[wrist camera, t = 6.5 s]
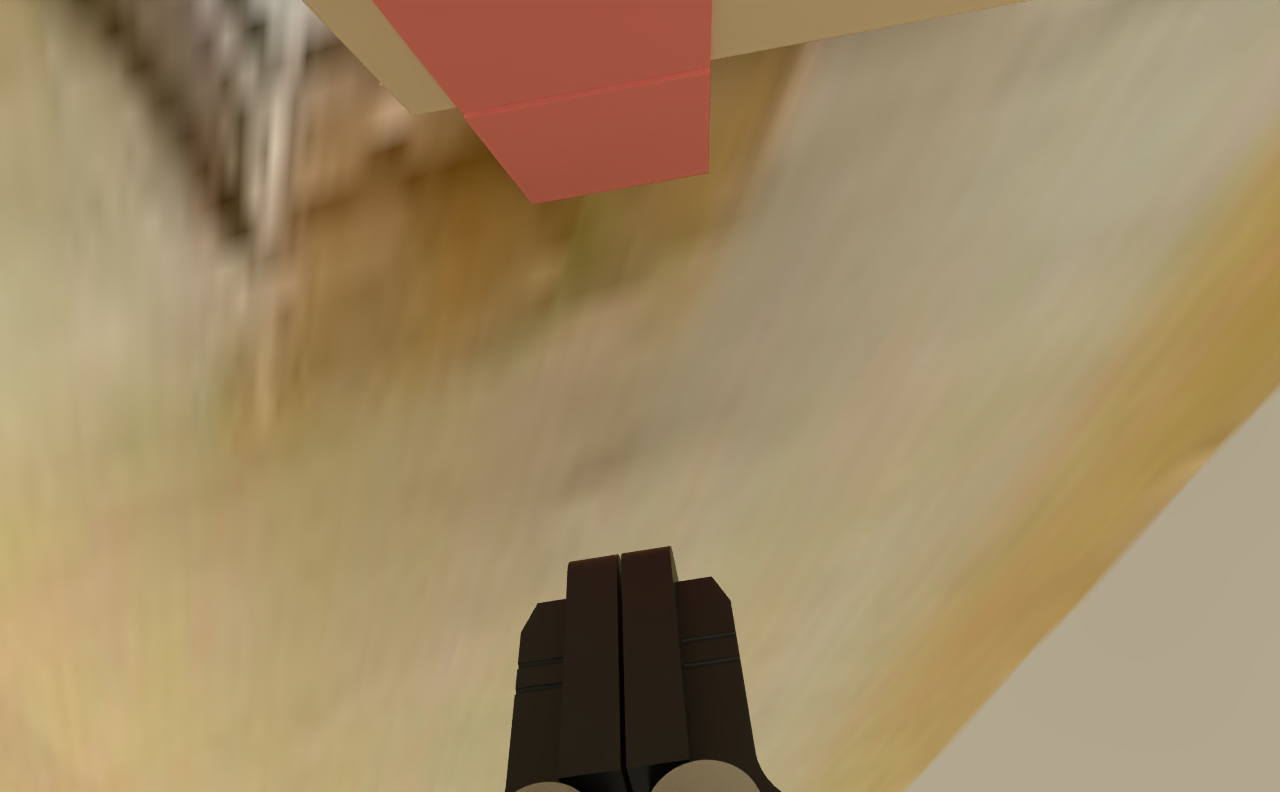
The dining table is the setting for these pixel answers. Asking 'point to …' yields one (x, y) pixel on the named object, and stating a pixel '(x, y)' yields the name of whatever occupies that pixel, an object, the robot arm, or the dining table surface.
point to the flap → (589, 72)
